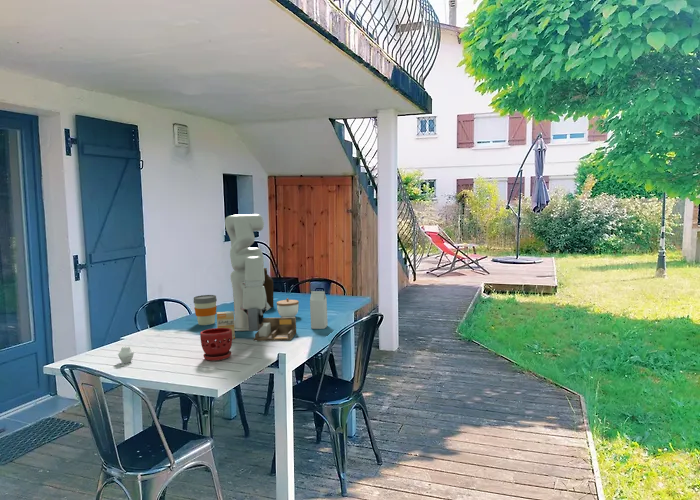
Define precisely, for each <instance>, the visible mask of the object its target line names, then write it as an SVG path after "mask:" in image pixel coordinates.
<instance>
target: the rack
mask: <svg viewBox="0 0 700 500" xmlns="http://www.w3.org/2000/svg"><path fill="white" fill-rule="evenodd" d="M263 318H264V321H263V326H262V327H261V328H260V329H259V330H258V331H256V332H255V334H254V337H253V341H254V342H261V341H262V342H263V341H270V342H271V341H272V342H273V341H276V342H277V341H292V339H293V338H294V337H295V335H296V334H297V317H296V316H295V317H283V318H282V317H263Z"/></svg>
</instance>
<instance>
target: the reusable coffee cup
mask: <svg viewBox="0 0 700 500" xmlns="http://www.w3.org/2000/svg"><path fill="white" fill-rule="evenodd" d="M193 304H194V312H195V317H196V319H197V324H198V325H199V326H207V325H213V324H215V323H216V315H217V295H215V294H205V295H204V294H203V295H196V296H194V297H193Z"/></svg>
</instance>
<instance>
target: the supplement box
mask: <svg viewBox="0 0 700 500" xmlns="http://www.w3.org/2000/svg"><path fill="white" fill-rule="evenodd" d="M234 320H235V314H234V311H233V310H230V311H216V328H230V329H231V330H232V340H234V339H236V336H235V335H236V333H235V329H234ZM224 340H226V339H224Z"/></svg>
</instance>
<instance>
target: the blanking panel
mask: <svg viewBox="0 0 700 500" xmlns="http://www.w3.org/2000/svg"><path fill="white" fill-rule="evenodd" d="M259 315H260V312H259V309H258V308H249V309H248V324H249V330H248V331H249V332H258V330H259V329H260V328H261V327H262V326H263V323H262V324H260V323H259Z"/></svg>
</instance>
